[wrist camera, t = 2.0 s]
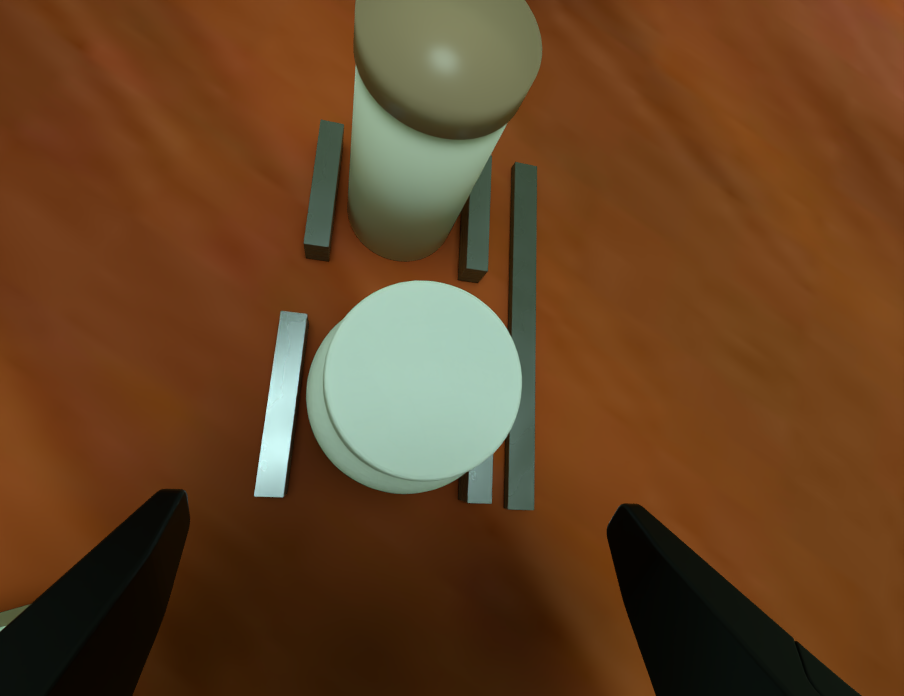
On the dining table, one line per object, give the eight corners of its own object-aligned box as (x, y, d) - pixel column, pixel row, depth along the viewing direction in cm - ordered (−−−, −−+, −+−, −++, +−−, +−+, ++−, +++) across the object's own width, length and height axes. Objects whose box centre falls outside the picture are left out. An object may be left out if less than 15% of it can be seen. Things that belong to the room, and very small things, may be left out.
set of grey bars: (529, 508, 20) (544, 512, 19) (258, 501, 18) (252, 505, 16) (532, 172, 24) (545, 154, 23) (312, 126, 22) (311, 103, 21)
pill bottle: (284, 432, 19) (237, 410, 9) (364, 322, 21) (391, 211, 11) (403, 506, 19) (471, 557, 10) (470, 392, 21) (583, 342, 12)
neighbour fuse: (464, 256, 22) (563, 106, 13) (357, 270, 21) (378, 113, 11) (439, 160, 23) (515, -47, 14) (335, 167, 22) (337, -60, 12)
